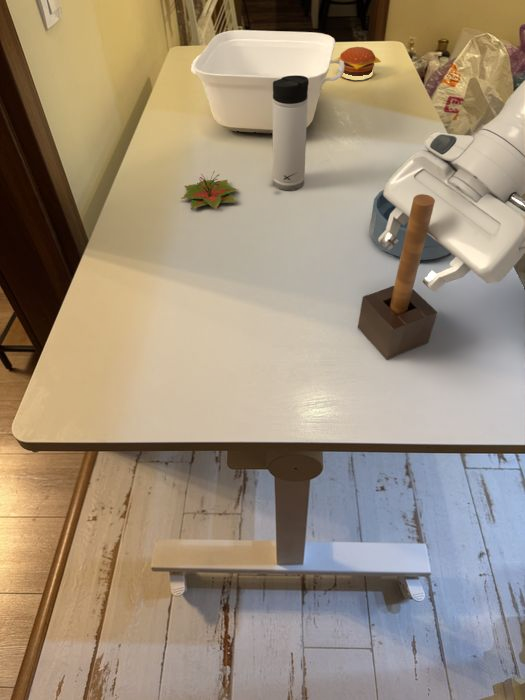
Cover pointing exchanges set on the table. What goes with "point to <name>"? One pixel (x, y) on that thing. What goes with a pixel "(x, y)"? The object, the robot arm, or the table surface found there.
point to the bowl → (379, 224)
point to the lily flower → (209, 193)
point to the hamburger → (358, 61)
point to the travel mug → (289, 131)
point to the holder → (395, 323)
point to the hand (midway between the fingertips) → (404, 265)
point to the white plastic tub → (261, 73)
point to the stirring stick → (411, 252)
